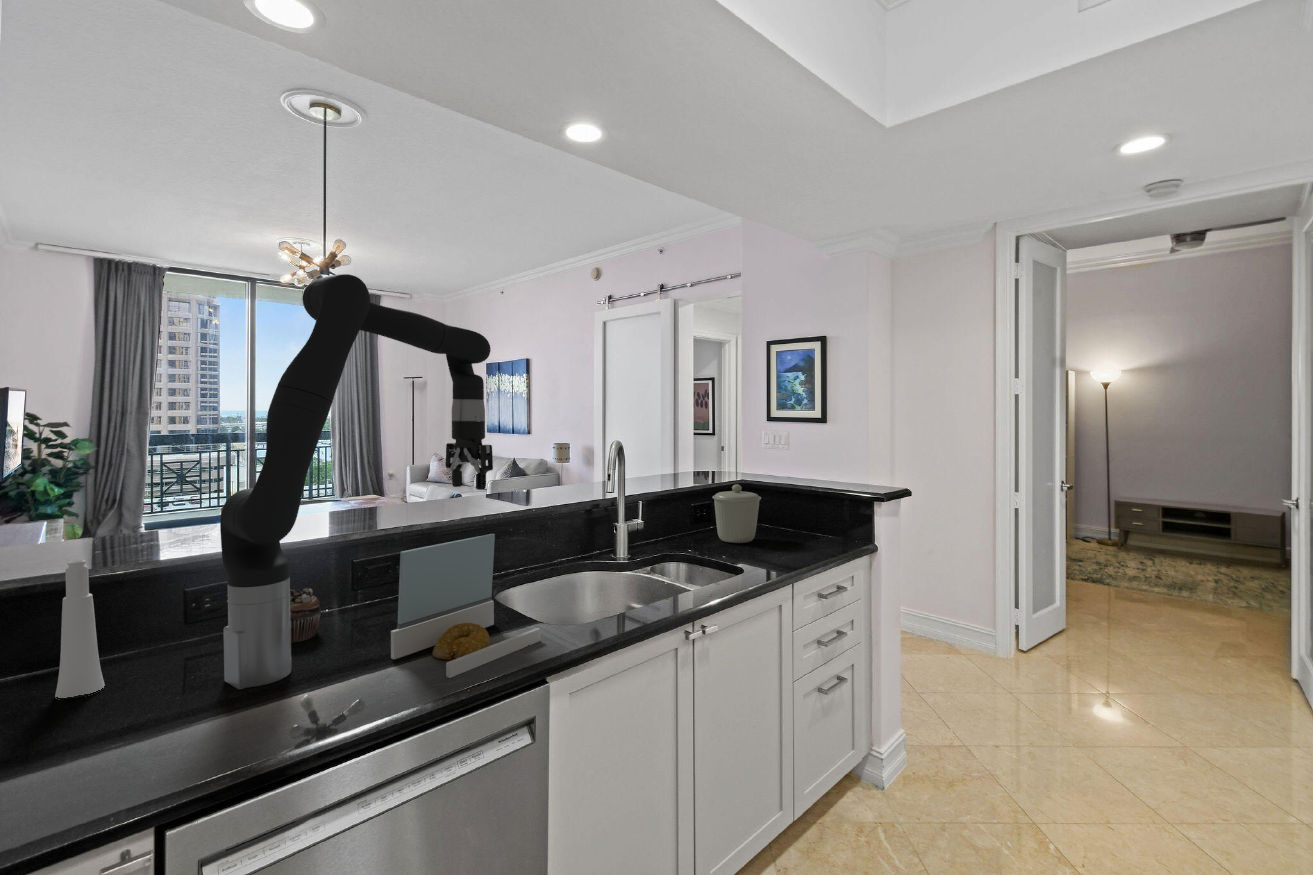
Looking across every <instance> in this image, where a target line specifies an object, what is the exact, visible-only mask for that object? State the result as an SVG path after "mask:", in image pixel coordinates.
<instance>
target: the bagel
mask: <svg viewBox="0 0 1313 875" xmlns="http://www.w3.org/2000/svg"><path fill="white" fill-rule="evenodd" d="M490 640H491V639H490V636H489V632H488V631H487V629H486V628H483V627H481V626H480V625H478V624H473V623H462V624H457V625H454V626H452V627H450V628H449V629H448V630H447V631H446V632H444V634H443V635H442V637H441V638H439V639H438V641H437V642H436V644H435V645H434V647H433V650H432V656H433V658H435V659H438V660H441V659H442V660H446V661H449V660H450V661H452V660H455V659H457V658H460V657H463V656H465V655H468V654H470V653H473V652H476V651H478V650H481V649H483V648H486V647H489V646H490Z"/></svg>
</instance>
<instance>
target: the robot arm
mask: <svg viewBox="0 0 1313 875" xmlns="http://www.w3.org/2000/svg"><path fill="white" fill-rule="evenodd" d="M370 295H371V294H370V292H369V289H368V286H367V285H366V283H364V281H363V280H362V279H361V278H359V276H356V275H353V274H350V273H349V274H348V273H339V274H332V275H329V276H328V275H327V276H325V277H321V278H318V279H315V280H313V281H312V282H309V284H308V285H307V286H306V287H305V288H304V290H303V293H302V298H301V299H302V305H303V307H304V310H305V311H306V313H307V315H309V317H311V318H312V319H313V320H314V321H315V323H314V326H313V328H312V331H311V333H310V335H309V337H308V339H307V341H306V342H305V344H304V346H303V347H302V348H301V349H300V351H299V352H298V353H297V355H295V356H294V358H293V359H292V361H291V362H290V364H289V365H288V366H287V367H286V369H285V371H284V372H283V373H282V375H281V377H280V379H279V381H278V382H277V386H276V388H275V390H274V394H273V396H272V399H271V402H270V404H269V407H268V411H267V415H266V428H265V429H266V435H265V436H266V441H265V442H266V443H265V444H266V448H265V449H266V450H265V455H264V456H265V457H264V461H263V464H262V466H261V470H260V472H259V475H258V477H257V479H256V481H255V484H254V486H253V488H252V487H251V488H246V489H245V488H244V489H241V490H238V491H236V492H234V493H233V494H232V495H231V496H229V498H228V499H227V500H226V501H225V502H224V505H223V507H222V509H221V513H220V520H219V523H220V524H219V525H220V527H219V528H220V529H219V530H220V546H221V548H220V549H221V560H222V565H223V568H224V570H225V572H226V579H227V580H226V581H227V622H228V623H227V626H224V627H223V665H224V666H223V668H224V669H223V671H224V673H223V674H224V676H223V677H224V682H226V683H228V684H229V685H231V686H232V687H234V688H235V689H237V690H243V689H246V688H252V687H260V686H265V685H269V684H272V683H275V682H278V681H281V680H283V679H284V678H286V677H287V676H289V675H290V674H291V672H292V660H293V659H292V643H291V621H290V589H291V571H290V570H291V569H290V568H291V567H290V566H291V565H290V562H289V560H288V559H287V558H286V556H285V554H284V553H283V550H282V547H281V541H282V540H283V539H285V537H287V536H288V535H289V533H290V532H291V531H292V529H293V527H294V526H295V524H296V520H297V518H298V515H299V509H300V505H301V502H302V497H303V493H304V492H303V491H304V488H305V483H306V480H307V475H308V473H309V472H308V471H309V469H310V465H311V463H312V460H313V458H314V456H315V452H316V449H317V447H318V443H319V440H320V437H321V434H322V432H323V429H324V426H325V424H326V423H327V422H326V421H327V420H328V417H329V413H330V411H331V407H332V406H333V402H334V398H335V394H336V392H337V388H338V386H339V383H340V381H341V378H342V374H343V372H344V368H345V366H346V363H347V359H348V357H349V354H350V352H351V349H352V347H353V344H354V343H355V340H356V339H357V336H358V334H359V332H360V331H361V332H366V333H370V334H374V335H379V336H381V337H384V338H388V339H392V340H394V341H397V342H400V343H403V344H406V345H409V346H413V347H414V348H418V349H419V350H424V351H427V352H430V353H433V354H438V355H445V358H446V361H447V362H446V363H447V365H448V371H449V373H450V374H449V375H450V378H451V381H452V404H451V405H452V406H451V439H453V440H455V442H450V443H449V442H448V443H446V445H445V468H446V469H450V471H451V484H452V487H454V488H459V487H462V486H463V471H462V469H463V468H464V466H465V464H467V463H469V464H470V465H471V466H472V467H473V468H474V470H475V472H476V473H475V489H476V490H479V491H482V490H486V487H487V473H488V472H490V471H493V470H494V460H493V458H494V457H493V446H492V444H483V440H484V439H485V438H486V407H485V390H484V389H485V388H484V387H485V384H484V378H482V376H481V375H478V374H475V371H474V368H473V364H481V363H484V362H485V361H486V360H488V358H489V356H490V355H491V352H492V350H491V345H490V344H491V343H490V342H489V341H488V339H487V338H486V337H485V336H484V335H483V334H481V333H479V332H477V331H474V330H470V329H468V328H467V329H466V328H461V327H458V326H453V325H448V324H445V323H443V322H441V321H439V320H436V319H433V318H432V317H428V316H426V315H423V314H420V313H416V312H411V311H408V310H403V309H397V308H392V307H389V306H385V305H380V304H378V303H375V302H372V301H371V296H370ZM451 458H452V460H451ZM451 461H452V462H451Z"/></svg>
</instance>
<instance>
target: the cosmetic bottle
mask: <svg viewBox="0 0 1313 875" xmlns="http://www.w3.org/2000/svg"><path fill="white" fill-rule="evenodd" d="M86 563H87V560H86V559H75V560H70V561H68V562H67V566H68V567H66V568H65V572H64V573H65V596H64V597H63V598H62V609H61V629H60V630H61V632H60V635H61V636H60V656H59V657H60V659H59V660H60V661H59V671H58V677H57V678H58V679H57V685H56V690H55V695H54V697H55V698H56V697H58V698H67V697H74V696H78V695H84V694H90V693H93V692H96V691H98V690H100V691H102V690H103V689H104V688H105V687H104V686H106V684H105V681H104V677H103V673H102V669H101V664H100V663H101V662H100V657H99V656H100V655H99V649H98V639H97V638H98V637H97V628H96V617H95V616H96V614H95V605H94V604H95V603H94V598H93V596H94V595H93V593H90V582H89V581H90V580H89V577H90V576H89V566H88V565H86ZM102 688H103V689H102ZM101 689H102V690H101ZM98 692H99V691H98ZM96 693H97V692H96Z"/></svg>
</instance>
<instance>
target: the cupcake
mask: <svg viewBox="0 0 1313 875" xmlns="http://www.w3.org/2000/svg"><path fill="white" fill-rule="evenodd" d="M313 592H314V591H313V589H312V588H309V587H308V586H307V588H306V587H303V588H300V589H299V590H298V591H297V590H295V589H294V588H290V621H291V644H293V643H300V642H304V641H307V640H310V639H312V638H314V637H315V636H316V635H317V632H318V629H319V622H320V618H321V614H322V608H321V606H320V603H321V602H320V600H319V599H318V597H317V596H315V595H313Z"/></svg>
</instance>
